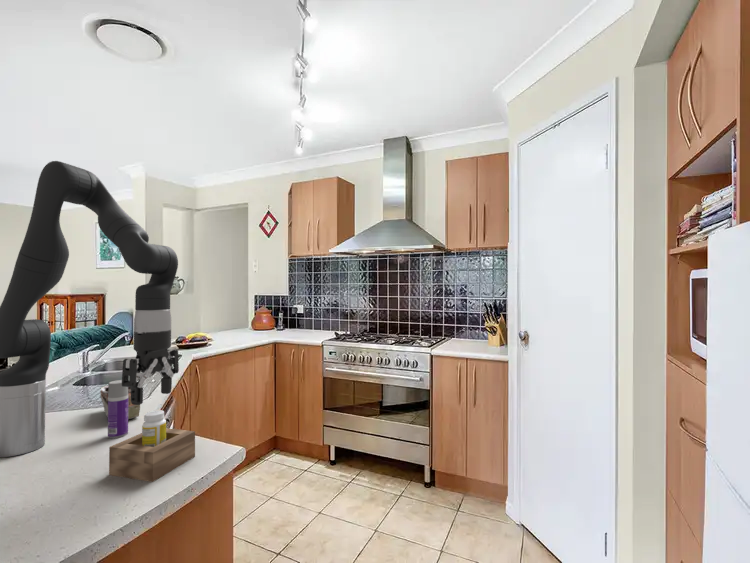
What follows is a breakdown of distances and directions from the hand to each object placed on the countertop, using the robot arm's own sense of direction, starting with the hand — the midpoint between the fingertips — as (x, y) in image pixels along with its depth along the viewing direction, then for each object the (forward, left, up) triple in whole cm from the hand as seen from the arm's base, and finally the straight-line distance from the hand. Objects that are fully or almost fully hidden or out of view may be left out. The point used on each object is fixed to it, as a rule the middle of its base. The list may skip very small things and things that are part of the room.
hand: (152, 398), depth 84 cm
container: (-23, +14, -16) cm, 31 cm away
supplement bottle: (+1, 0, -12) cm, 12 cm away
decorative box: (-39, +27, -16) cm, 50 cm away
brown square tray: (+1, 0, -16) cm, 16 cm away
